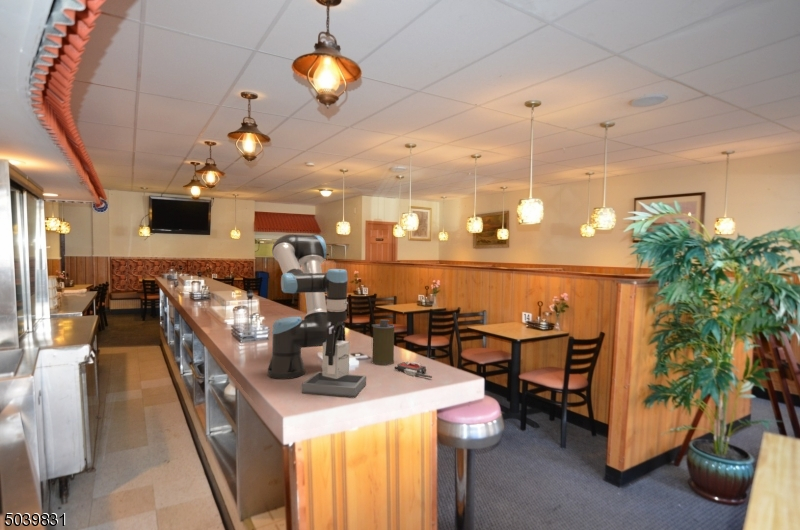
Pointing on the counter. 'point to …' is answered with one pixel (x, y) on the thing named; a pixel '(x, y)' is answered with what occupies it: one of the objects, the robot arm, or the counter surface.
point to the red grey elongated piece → (412, 369)
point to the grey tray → (334, 385)
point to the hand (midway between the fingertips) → (335, 369)
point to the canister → (383, 343)
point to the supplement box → (337, 360)
